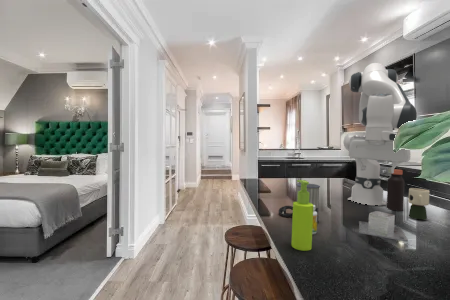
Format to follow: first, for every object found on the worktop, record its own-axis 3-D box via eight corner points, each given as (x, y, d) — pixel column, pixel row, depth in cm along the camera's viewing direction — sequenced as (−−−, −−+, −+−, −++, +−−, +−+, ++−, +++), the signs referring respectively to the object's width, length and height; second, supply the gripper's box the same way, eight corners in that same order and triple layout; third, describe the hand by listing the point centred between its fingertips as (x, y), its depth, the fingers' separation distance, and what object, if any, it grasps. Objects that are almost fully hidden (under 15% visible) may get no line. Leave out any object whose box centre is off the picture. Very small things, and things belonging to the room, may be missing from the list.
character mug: (405, 214, 114) (407, 186, 114) (425, 217, 110) (427, 188, 110) (409, 220, 105) (410, 190, 104) (430, 223, 101) (432, 192, 101)
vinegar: (406, 211, 120) (408, 170, 119) (392, 210, 120) (394, 170, 119) (396, 207, 127) (398, 169, 126) (383, 207, 127) (385, 168, 126)
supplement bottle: (317, 231, 88) (319, 204, 88) (315, 235, 84) (316, 207, 83) (302, 228, 91) (303, 202, 91) (299, 232, 86) (300, 205, 86)
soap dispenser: (306, 241, 78) (308, 179, 78) (314, 250, 72) (317, 182, 71) (288, 241, 78) (290, 178, 78) (294, 250, 71) (297, 182, 71)
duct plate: (359, 222, 100) (359, 212, 100) (400, 229, 93) (401, 218, 93) (359, 233, 88) (360, 221, 87) (407, 241, 81) (408, 229, 81)
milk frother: (320, 226, 94) (322, 187, 94) (278, 222, 97) (280, 184, 97) (314, 215, 108) (316, 182, 108) (278, 212, 111) (279, 179, 111)
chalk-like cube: (368, 228, 91) (369, 213, 91) (375, 225, 95) (376, 210, 95) (387, 233, 86) (387, 217, 86) (393, 230, 90) (394, 214, 90)
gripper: (346, 135, 99) (345, 169, 100) (408, 136, 84) (406, 176, 85) (353, 135, 104) (351, 168, 104) (412, 136, 88) (410, 174, 89)
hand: (376, 171), depth 95 cm, fingers open, 8 cm apart
